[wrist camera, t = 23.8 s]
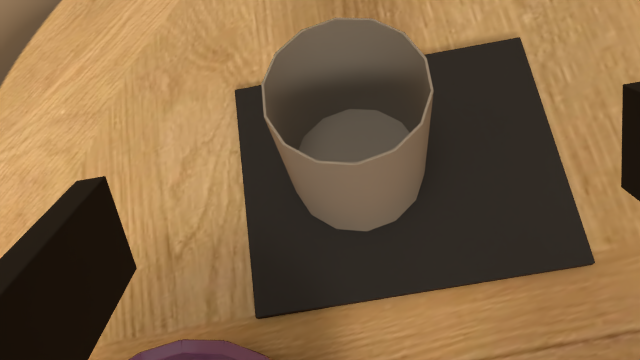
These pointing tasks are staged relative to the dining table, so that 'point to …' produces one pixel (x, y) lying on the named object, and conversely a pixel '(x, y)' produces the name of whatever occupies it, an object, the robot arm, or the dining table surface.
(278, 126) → the cup
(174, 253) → the dining table surface
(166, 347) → the plum bowl
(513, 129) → the place mat
